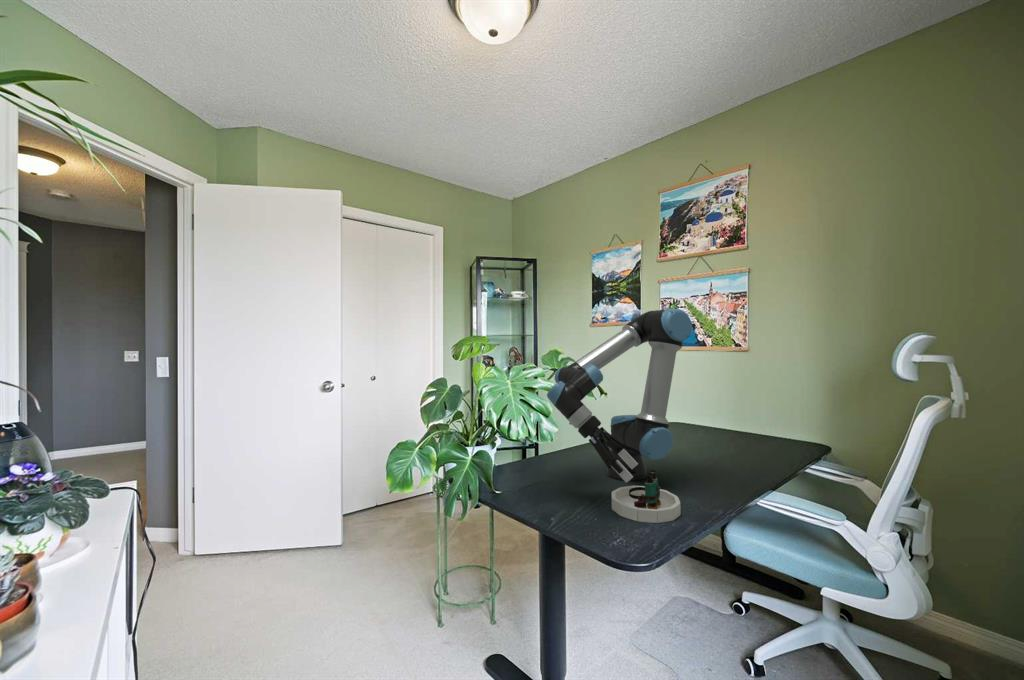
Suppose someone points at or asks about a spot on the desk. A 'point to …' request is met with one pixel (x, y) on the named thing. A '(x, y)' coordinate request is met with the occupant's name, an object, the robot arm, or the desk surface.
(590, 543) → the desk surface
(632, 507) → the dish
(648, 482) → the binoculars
